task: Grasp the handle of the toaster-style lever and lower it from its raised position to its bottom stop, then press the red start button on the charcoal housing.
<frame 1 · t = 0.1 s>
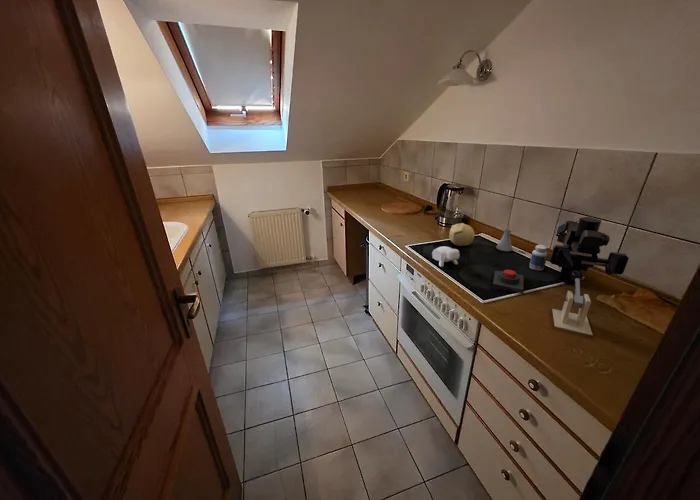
hand: (591, 270, 87), 17 cm above the worktop, tool horizontal, fingers open, 9 cm apart
pill bottle: (536, 268, 125), on the worktop
sculpture: (460, 244, 152), on the worktop
start button: (509, 273, 111), point 4 cm above the worktop, slide at 0.1 cm
toaster bracket: (570, 323, 91), on the worktop
flask: (504, 249, 144), on the worktop
lever: (577, 287, 90), point 10 cm above the worktop, hinge at 25.0°
white animal figurine: (445, 263, 131), on the worktop
button housing: (507, 284, 113), on the worktop
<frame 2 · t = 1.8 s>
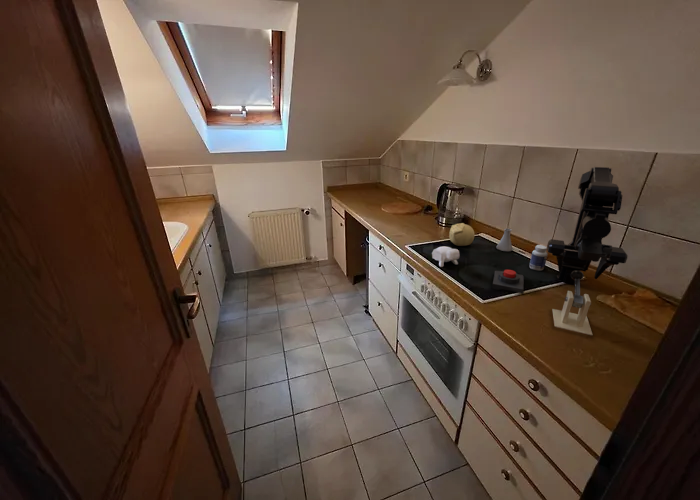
hand: (577, 275, 93), 12 cm above the worktop, tool pointing down, fingers open, 9 cm apart
nothing on the worktop moved.
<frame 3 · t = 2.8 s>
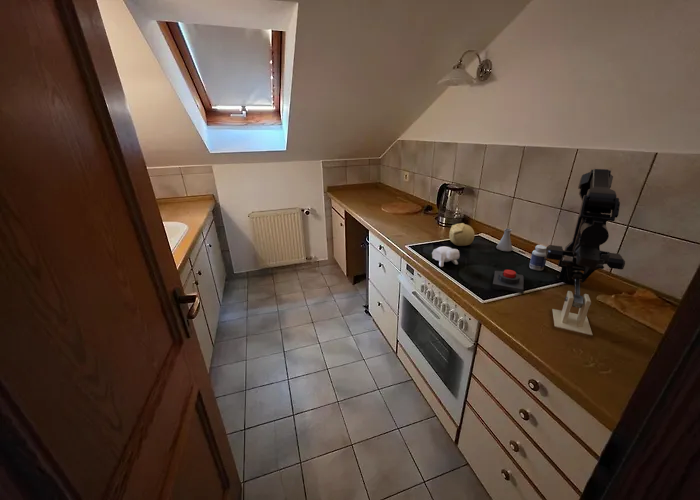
hand: (575, 280, 94), 10 cm above the worktop, tool pointing down, fingers closed on lever, 3 cm apart
lever: (577, 287, 90), point 10 cm above the worktop, hinge at 25.0°, touching gripper
everything else where it was.
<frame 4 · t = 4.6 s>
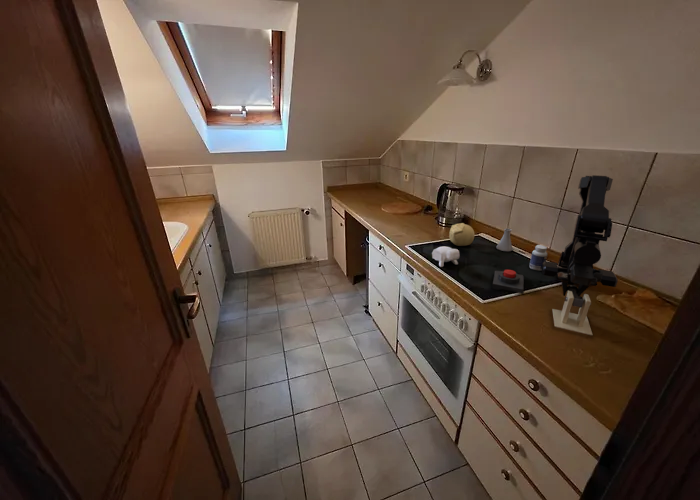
hand: (570, 296, 97), 4 cm above the worktop, tool pointing down, fingers closed on lever, 3 cm apart
lever: (574, 295, 92), point 7 cm above the worktop, hinge at -8.1°, touching gripper
everything else where it was.
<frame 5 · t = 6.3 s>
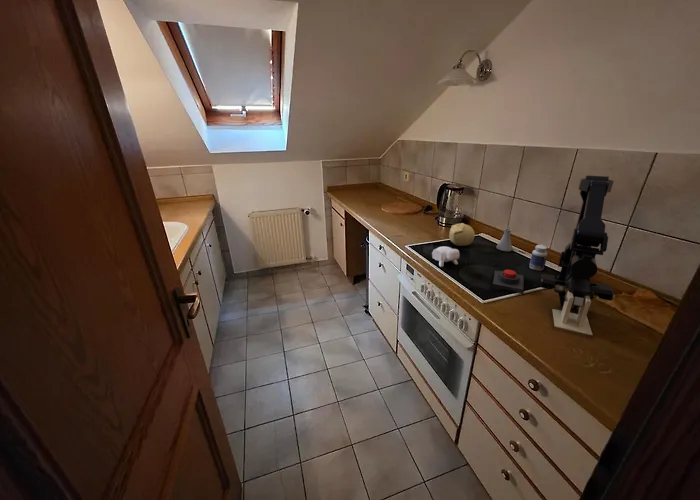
hand: (567, 309, 97), 0 cm above the worktop, tool pointing down, fingers closed on lever, 3 cm apart
lever: (573, 301, 92), point 5 cm above the worktop, hinge at -29.8°, touching gripper
everything else where it was.
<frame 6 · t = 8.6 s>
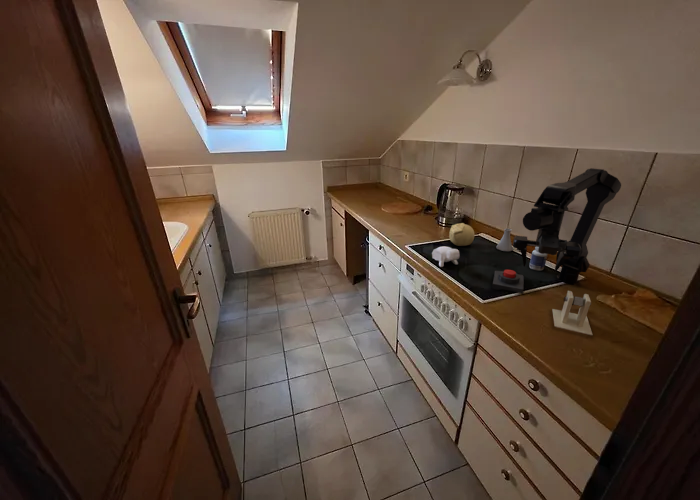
hand: (539, 268, 102), 10 cm above the worktop, tool pointing down, fingers open, 9 cm apart
lever: (573, 300, 92), point 6 cm above the worktop, hinge at -28.5°
everything else where it was.
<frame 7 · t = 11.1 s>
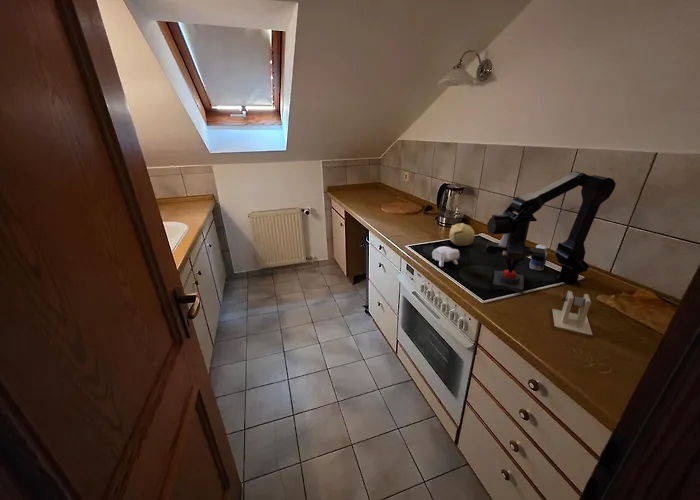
hand: (510, 272, 111), 5 cm above the worktop, tool pointing down, fingers closed, pressing on start button
start button: (509, 274, 111), point 4 cm above the worktop, slide at 0.0 cm, touching gripper
everything else where it was.
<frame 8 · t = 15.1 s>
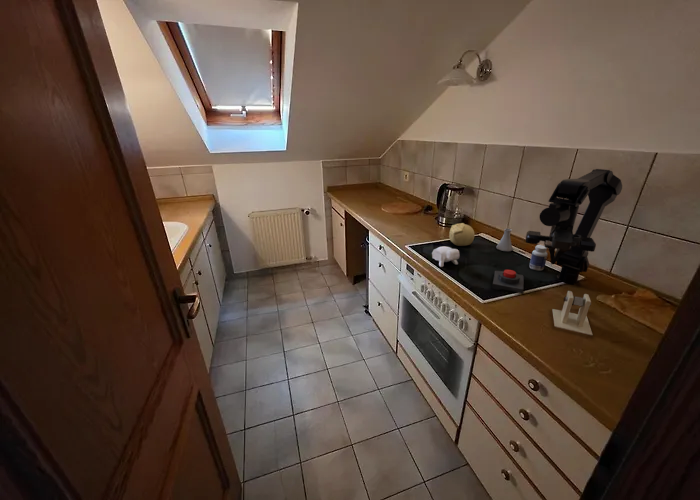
hand: (552, 263, 102), 12 cm above the worktop, tool pointing down, fingers closed
start button: (509, 273, 111), point 4 cm above the worktop, slide at 0.1 cm
everything else where it was.
at the end: lever at -28° (first picture: +25°); start button pushed in 1.1 cm at the most during the clip, back to where it started at the end; start button slide at 0.1 cm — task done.
